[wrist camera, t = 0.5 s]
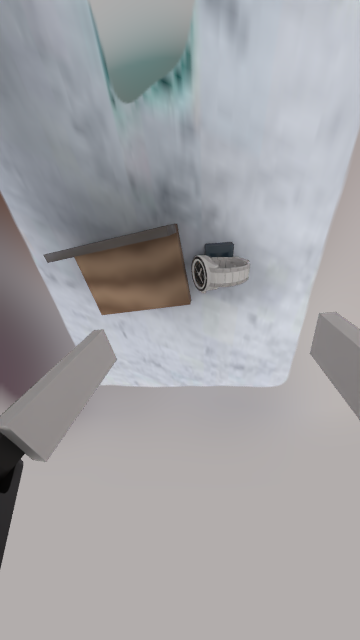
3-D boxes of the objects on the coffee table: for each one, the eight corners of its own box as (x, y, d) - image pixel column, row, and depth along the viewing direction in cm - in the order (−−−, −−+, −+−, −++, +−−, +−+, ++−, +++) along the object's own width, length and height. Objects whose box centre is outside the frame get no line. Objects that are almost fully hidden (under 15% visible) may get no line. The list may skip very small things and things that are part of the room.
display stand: (77, 247, 33) (43, 254, 26) (176, 223, 29) (166, 225, 22) (106, 310, 40) (85, 330, 33) (191, 300, 35) (186, 319, 28)
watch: (194, 244, 30) (186, 257, 21) (242, 241, 28) (258, 252, 19) (195, 276, 33) (189, 300, 23) (239, 274, 31) (252, 299, 22)
